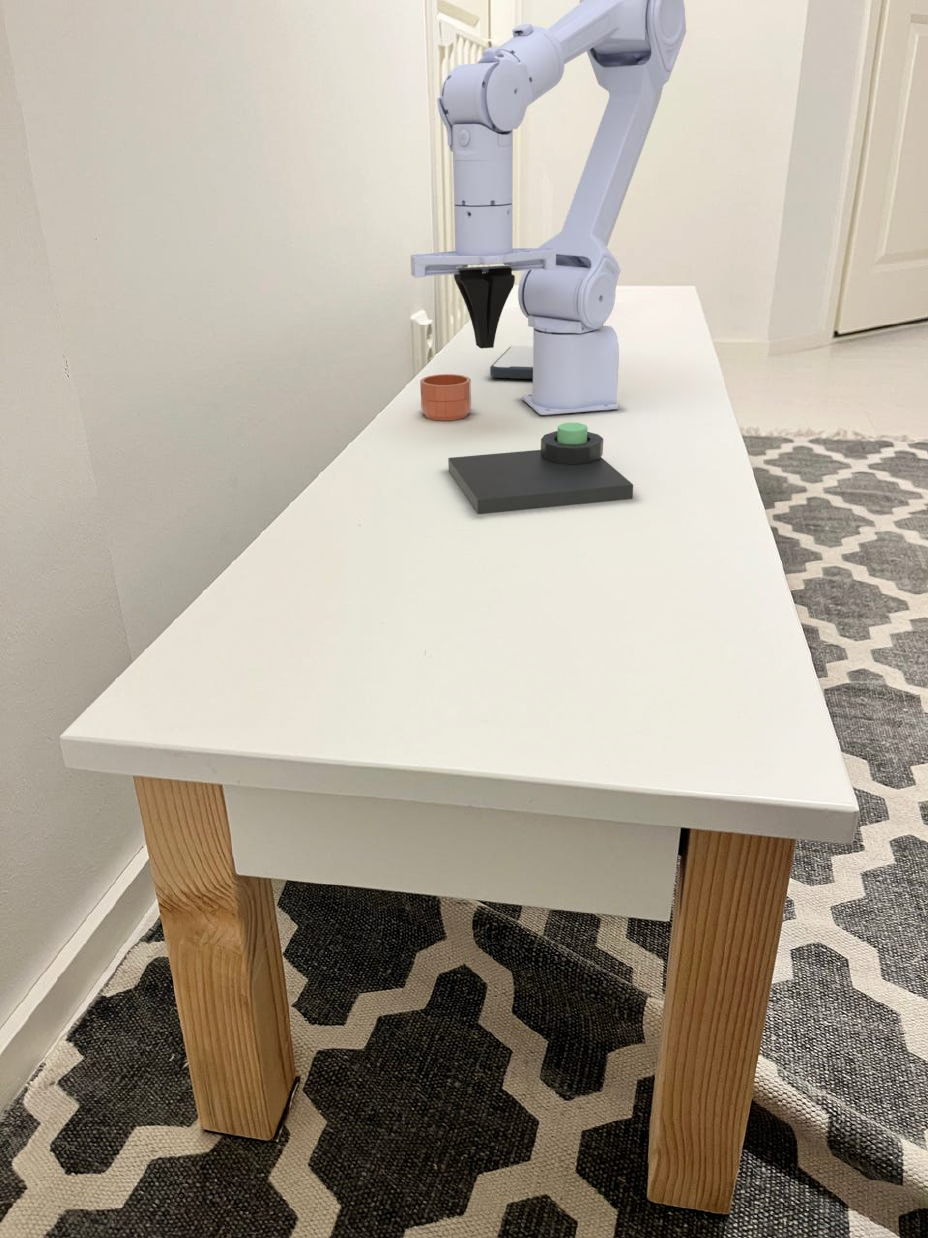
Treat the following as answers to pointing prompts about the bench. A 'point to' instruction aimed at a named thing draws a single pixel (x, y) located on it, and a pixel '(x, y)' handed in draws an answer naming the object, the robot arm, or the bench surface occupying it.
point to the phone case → (514, 363)
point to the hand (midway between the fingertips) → (484, 346)
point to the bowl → (445, 396)
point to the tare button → (572, 433)
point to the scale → (540, 477)
